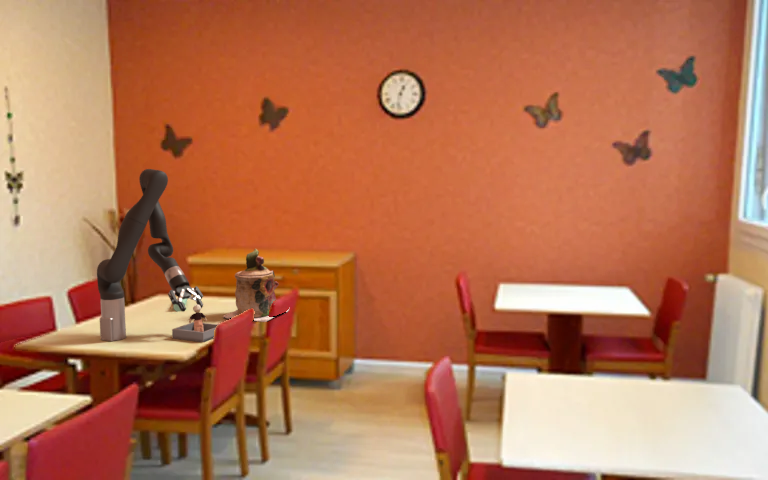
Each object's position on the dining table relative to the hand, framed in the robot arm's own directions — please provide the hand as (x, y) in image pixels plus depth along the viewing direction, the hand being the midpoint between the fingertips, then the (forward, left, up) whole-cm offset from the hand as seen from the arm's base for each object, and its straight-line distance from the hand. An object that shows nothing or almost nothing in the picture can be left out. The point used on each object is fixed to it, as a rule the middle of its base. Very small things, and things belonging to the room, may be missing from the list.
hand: (193, 308), depth 286 cm
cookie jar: (+43, -3, -12) cm, 45 cm away
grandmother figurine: (0, -2, -11) cm, 11 cm away
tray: (0, -3, -12) cm, 12 cm away
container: (+46, +45, -12) cm, 66 cm away
